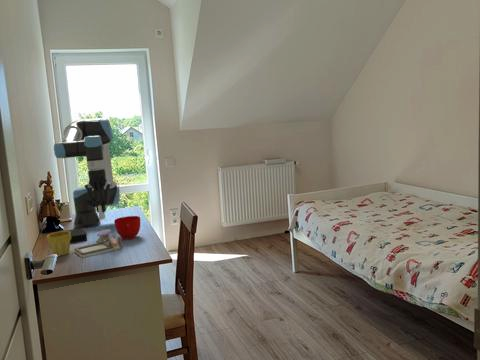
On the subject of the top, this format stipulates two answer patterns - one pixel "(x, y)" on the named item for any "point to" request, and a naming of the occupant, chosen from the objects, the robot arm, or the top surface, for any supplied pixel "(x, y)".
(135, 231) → the ceramic cup
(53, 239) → the plant pot
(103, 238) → the toy table
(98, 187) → the robot arm
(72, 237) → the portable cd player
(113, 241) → the bar
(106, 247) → the seating jig
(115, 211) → the top surface
